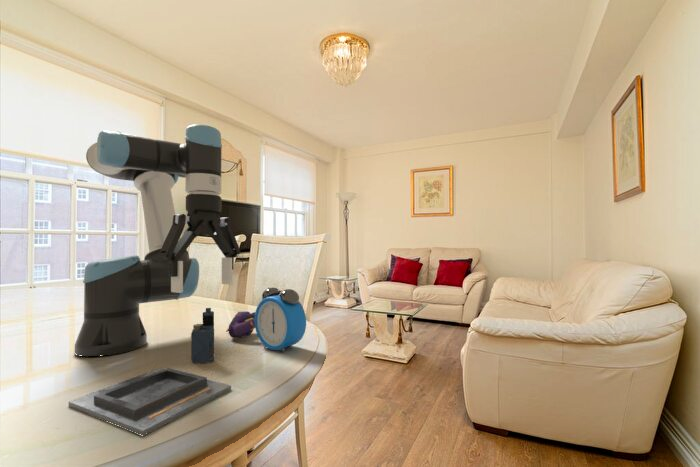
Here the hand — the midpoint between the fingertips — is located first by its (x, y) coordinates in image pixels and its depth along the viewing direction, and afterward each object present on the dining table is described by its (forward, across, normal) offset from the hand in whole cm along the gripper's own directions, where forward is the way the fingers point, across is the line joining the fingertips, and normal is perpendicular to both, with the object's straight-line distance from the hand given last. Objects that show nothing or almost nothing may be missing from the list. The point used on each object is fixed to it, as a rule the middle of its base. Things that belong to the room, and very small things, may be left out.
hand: (203, 288), depth 76 cm
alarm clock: (+17, +15, -10) cm, 24 cm away
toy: (+17, +20, +6) cm, 27 cm away
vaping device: (+17, 0, 0) cm, 17 cm away
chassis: (+16, -16, -7) cm, 24 cm away
